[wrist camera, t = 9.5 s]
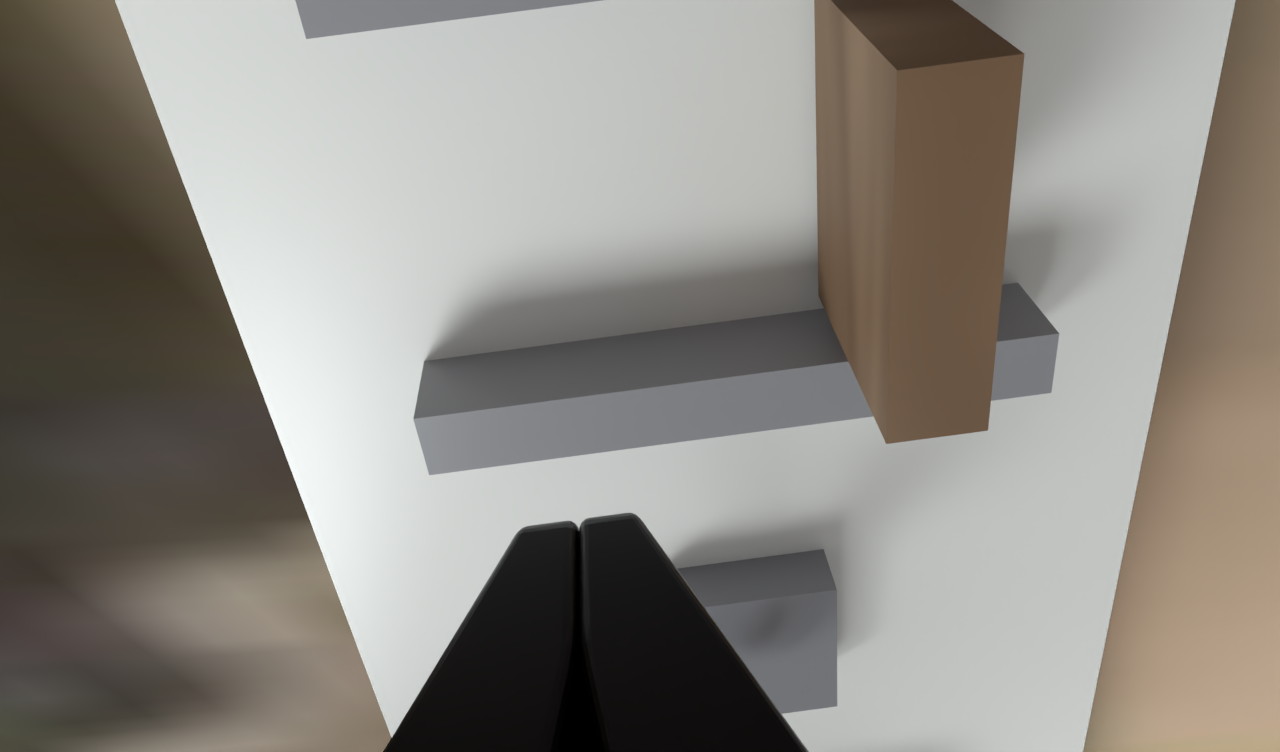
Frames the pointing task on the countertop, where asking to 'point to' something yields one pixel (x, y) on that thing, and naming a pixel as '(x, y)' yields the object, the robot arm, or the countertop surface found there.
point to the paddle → (914, 204)
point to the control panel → (688, 329)
